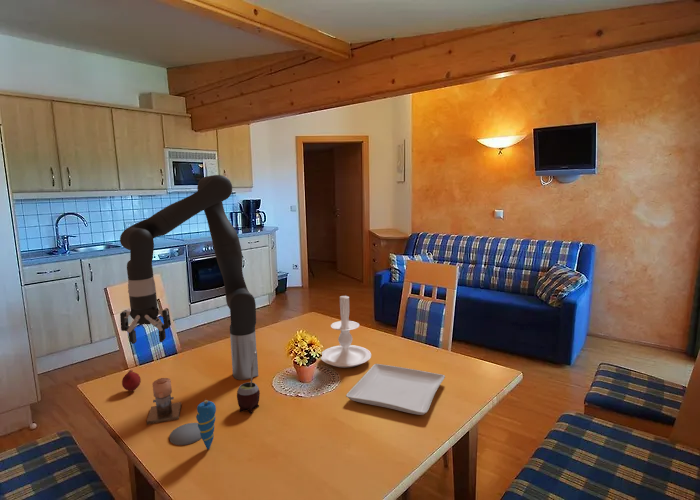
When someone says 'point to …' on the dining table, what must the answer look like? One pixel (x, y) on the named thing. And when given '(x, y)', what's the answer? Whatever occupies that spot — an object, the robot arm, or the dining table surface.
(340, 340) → the candlestick
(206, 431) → the ornament
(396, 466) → the dining table surface
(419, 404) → the square plate
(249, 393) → the mate gourd
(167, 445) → the dining table surface
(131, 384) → the onion
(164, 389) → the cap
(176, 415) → the cylinder on square base
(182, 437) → the coaster
